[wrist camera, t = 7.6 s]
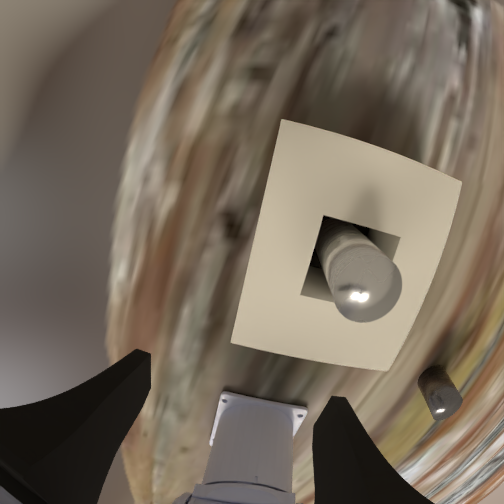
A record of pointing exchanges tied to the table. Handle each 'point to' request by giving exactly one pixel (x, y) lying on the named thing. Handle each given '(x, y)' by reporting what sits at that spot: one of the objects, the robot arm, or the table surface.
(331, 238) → the long pin
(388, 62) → the table surface
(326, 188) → the hole block
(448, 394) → the short pin
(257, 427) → the robot arm
